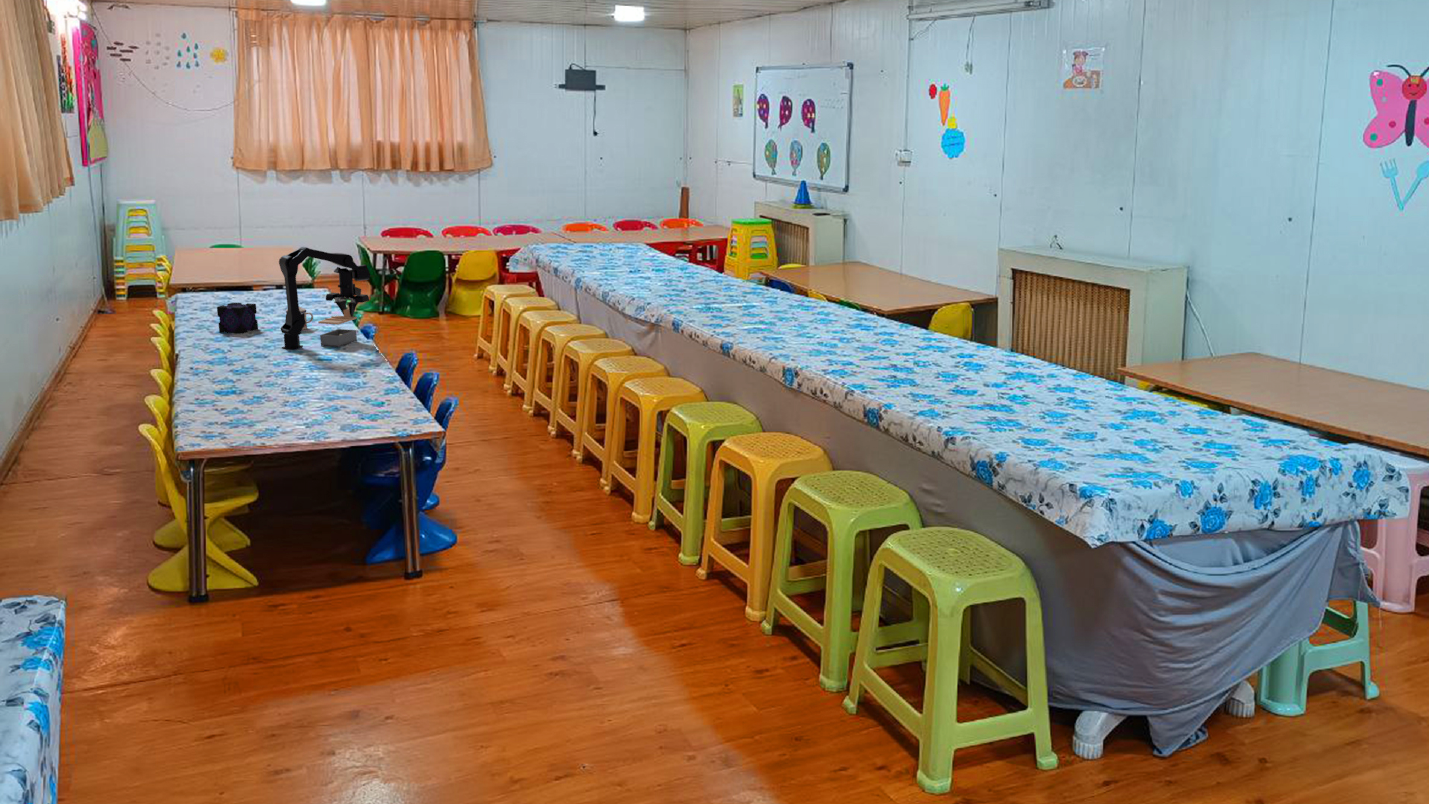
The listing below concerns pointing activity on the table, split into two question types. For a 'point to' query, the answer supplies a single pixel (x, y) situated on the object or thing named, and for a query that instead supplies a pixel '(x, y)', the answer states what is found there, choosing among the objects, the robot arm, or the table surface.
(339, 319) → the lid
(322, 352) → the table surface
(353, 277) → the robot arm
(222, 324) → the energy cube
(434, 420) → the table surface
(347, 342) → the tub
